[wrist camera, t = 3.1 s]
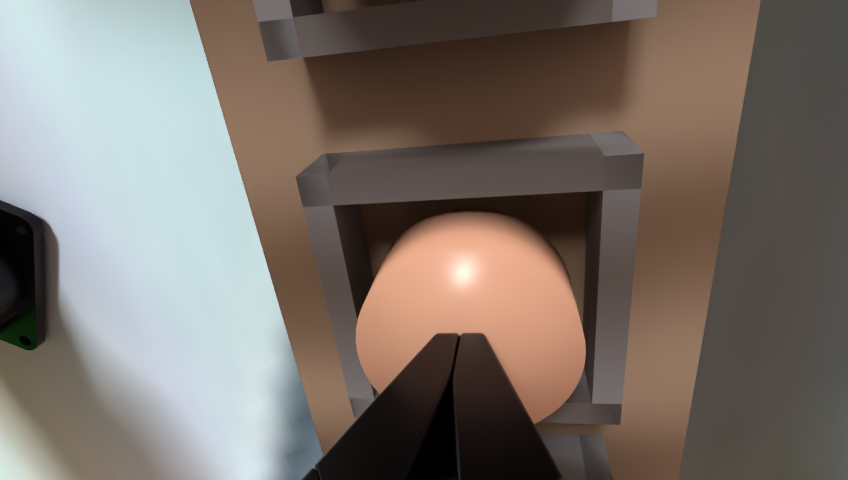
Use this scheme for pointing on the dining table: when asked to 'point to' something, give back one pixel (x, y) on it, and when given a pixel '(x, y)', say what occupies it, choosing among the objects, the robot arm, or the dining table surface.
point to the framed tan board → (496, 178)
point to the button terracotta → (477, 303)
